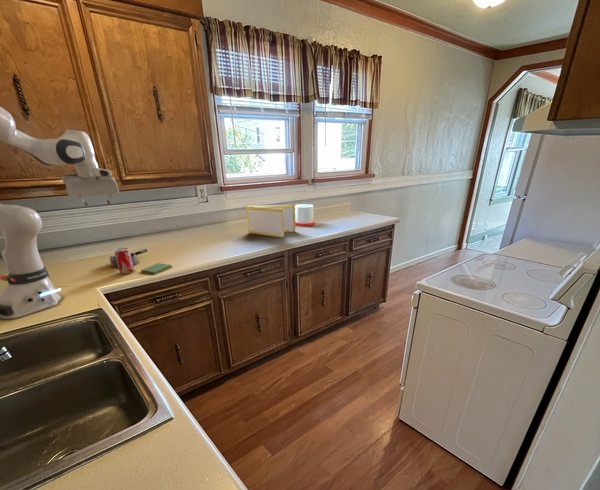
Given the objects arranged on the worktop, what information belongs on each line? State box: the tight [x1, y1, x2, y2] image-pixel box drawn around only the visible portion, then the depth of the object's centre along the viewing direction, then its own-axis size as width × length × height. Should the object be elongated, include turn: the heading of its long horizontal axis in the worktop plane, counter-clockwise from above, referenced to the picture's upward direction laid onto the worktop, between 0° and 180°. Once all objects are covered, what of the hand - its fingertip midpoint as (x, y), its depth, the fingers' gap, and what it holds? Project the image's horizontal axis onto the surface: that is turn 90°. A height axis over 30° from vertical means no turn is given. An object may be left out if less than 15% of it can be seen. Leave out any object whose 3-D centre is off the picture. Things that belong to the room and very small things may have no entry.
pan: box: [108, 252, 139, 269], centre depth 179 cm, size 13×13×4 cm
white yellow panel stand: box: [245, 204, 296, 238], centre depth 232 cm, size 35×22×20 cm, turn 99°
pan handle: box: [133, 248, 149, 256], centre depth 188 cm, size 11×2×2 cm, turn 156°
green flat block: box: [140, 262, 172, 275], centre depth 171 cm, size 12×9×1 cm
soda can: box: [114, 247, 135, 275], centre depth 165 cm, size 7×7×12 cm
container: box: [294, 203, 315, 227], centre depth 264 cm, size 16×16×15 cm
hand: (98, 205), depth 149 cm, fingers open, 8 cm apart
